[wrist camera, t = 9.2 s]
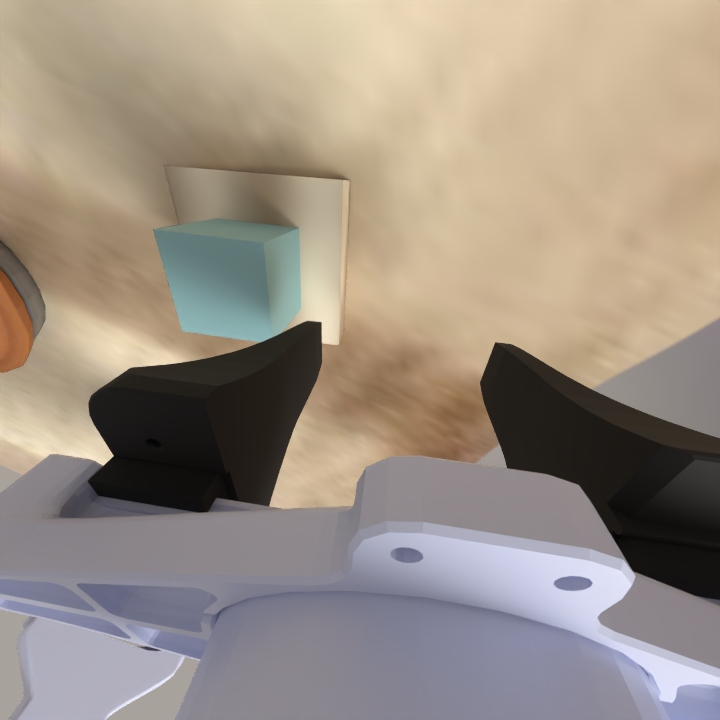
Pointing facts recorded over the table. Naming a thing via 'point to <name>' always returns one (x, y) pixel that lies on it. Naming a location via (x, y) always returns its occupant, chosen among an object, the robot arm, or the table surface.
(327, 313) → the birch base
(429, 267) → the table surface
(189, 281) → the teal block
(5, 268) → the pie
